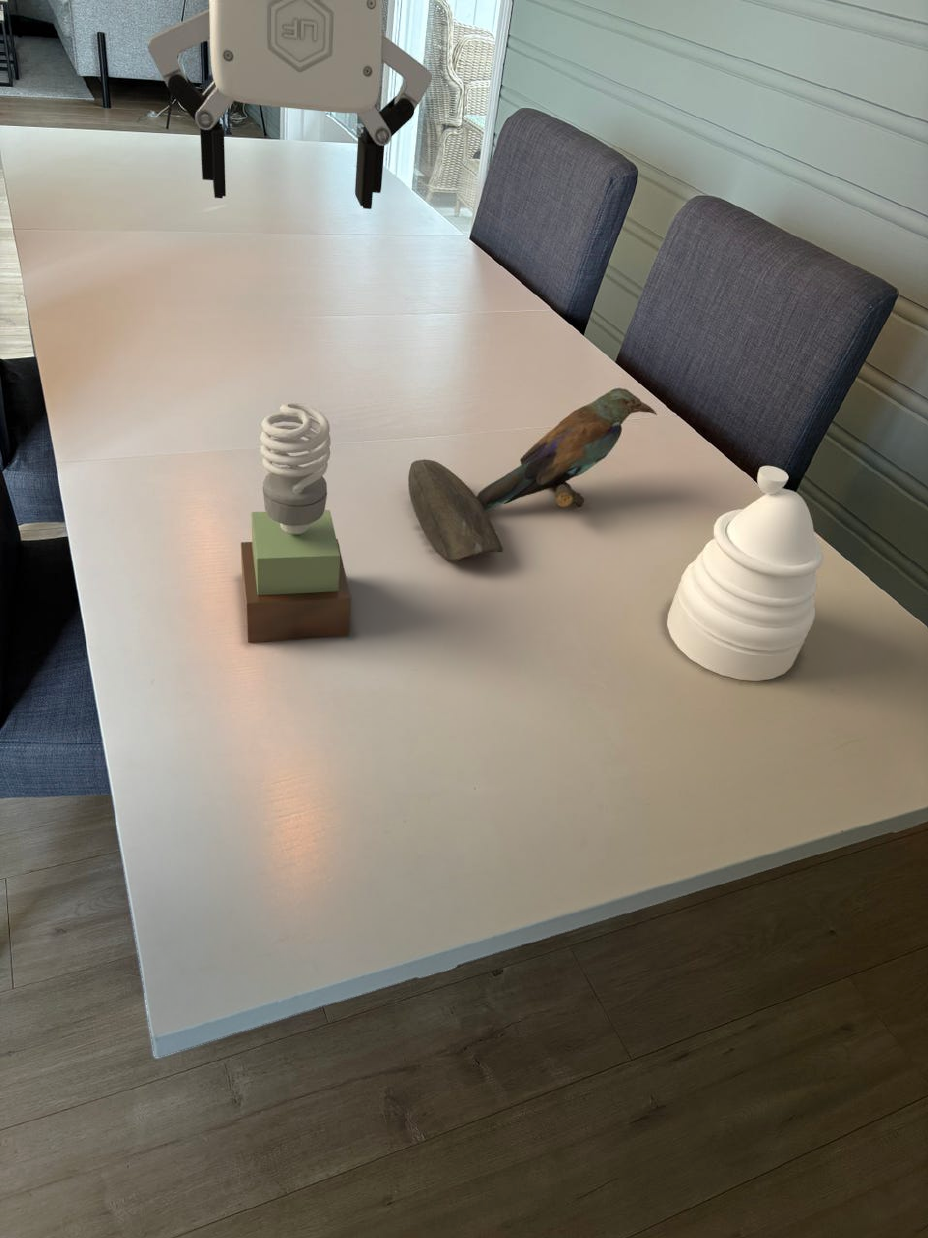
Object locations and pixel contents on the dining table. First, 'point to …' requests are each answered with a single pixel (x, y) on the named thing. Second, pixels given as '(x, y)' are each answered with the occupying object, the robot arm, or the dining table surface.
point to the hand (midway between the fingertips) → (292, 197)
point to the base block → (293, 608)
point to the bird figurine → (566, 451)
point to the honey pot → (751, 587)
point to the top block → (295, 557)
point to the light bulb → (295, 466)
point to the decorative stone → (450, 512)
